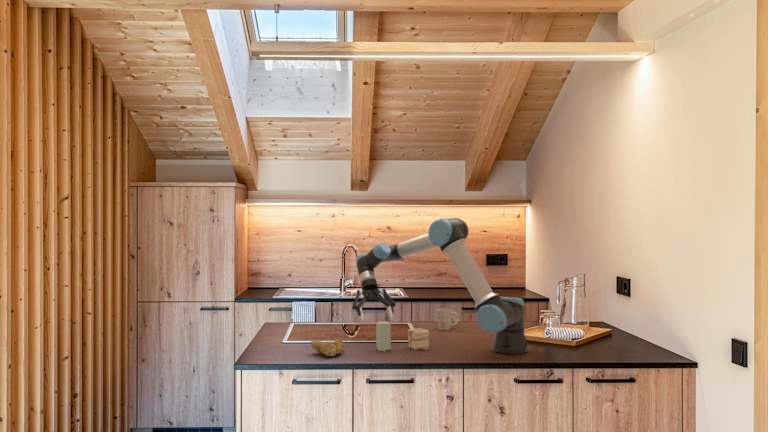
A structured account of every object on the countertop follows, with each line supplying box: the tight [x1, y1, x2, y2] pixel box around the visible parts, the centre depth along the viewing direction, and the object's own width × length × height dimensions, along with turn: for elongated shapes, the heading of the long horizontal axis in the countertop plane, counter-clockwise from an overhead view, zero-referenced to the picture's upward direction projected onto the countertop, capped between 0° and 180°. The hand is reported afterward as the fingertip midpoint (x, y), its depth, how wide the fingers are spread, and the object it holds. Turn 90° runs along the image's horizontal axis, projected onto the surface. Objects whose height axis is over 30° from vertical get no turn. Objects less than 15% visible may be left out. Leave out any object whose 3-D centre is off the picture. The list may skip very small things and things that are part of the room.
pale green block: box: [375, 321, 392, 350], centre depth 270 cm, size 5×5×12 cm
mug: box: [435, 307, 460, 331], centre depth 317 cm, size 8×13×10 cm, turn 115°
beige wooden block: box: [408, 339, 430, 351], centre depth 274 cm, size 7×7×4 cm
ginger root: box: [310, 337, 346, 357], centre depth 262 cm, size 16×16×8 cm
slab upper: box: [407, 327, 430, 341], centre depth 274 cm, size 7×7×4 cm
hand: (377, 320), depth 277 cm, fingers open, 13 cm apart
